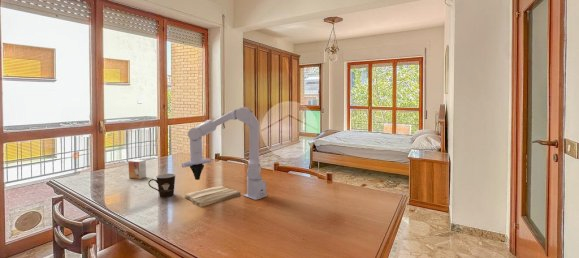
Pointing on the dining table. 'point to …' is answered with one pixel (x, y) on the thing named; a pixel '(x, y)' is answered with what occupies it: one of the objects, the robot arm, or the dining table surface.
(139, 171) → the small box
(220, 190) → the plank
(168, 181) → the coffee mug
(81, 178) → the dining table surface
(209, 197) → the laid boards
